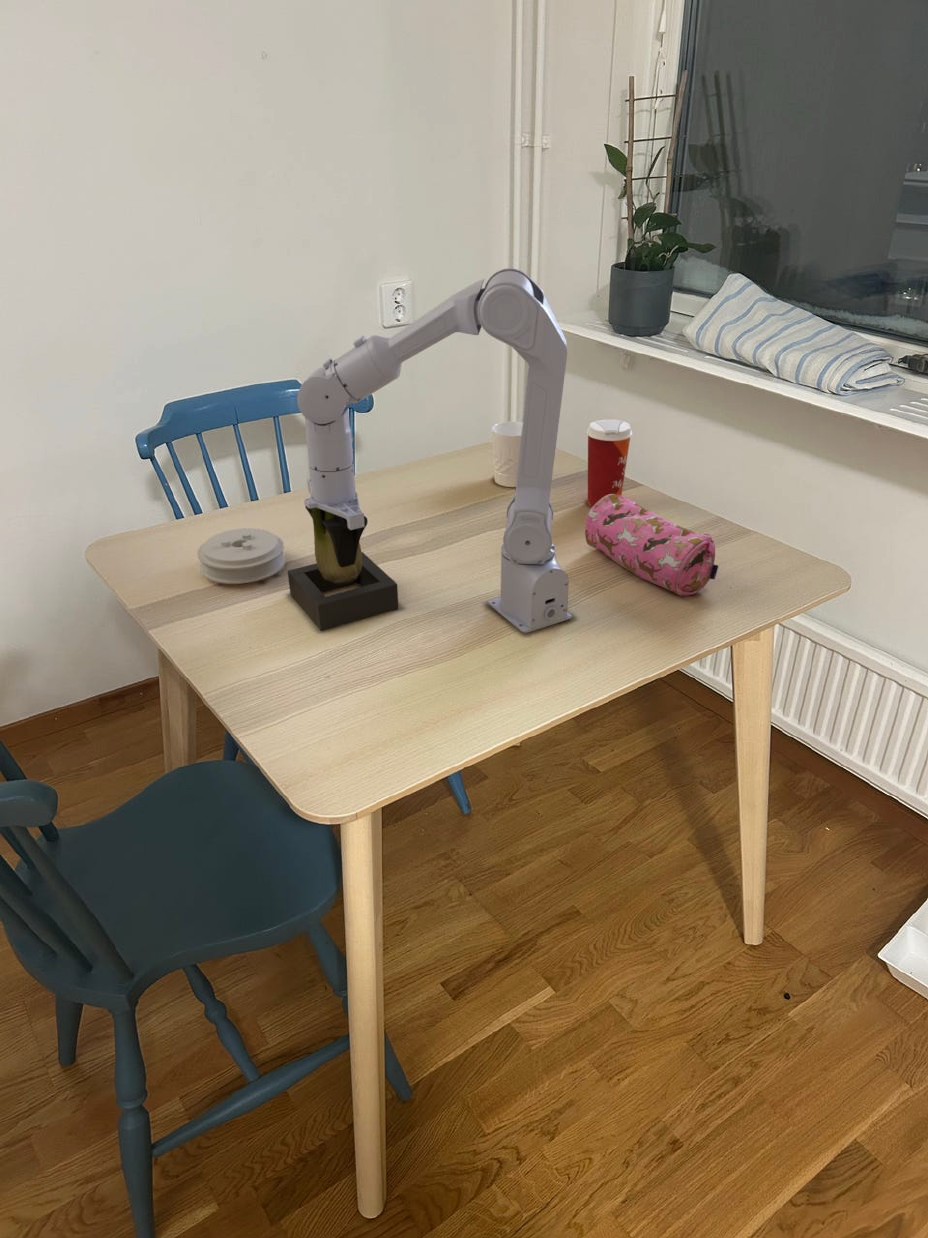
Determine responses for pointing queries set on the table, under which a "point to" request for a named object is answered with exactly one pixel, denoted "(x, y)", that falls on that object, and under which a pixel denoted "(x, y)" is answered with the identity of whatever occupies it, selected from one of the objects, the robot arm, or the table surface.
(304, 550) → the table surface
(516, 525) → the robot arm
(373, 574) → the holder
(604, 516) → the pencil case
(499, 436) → the white cup
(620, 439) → the paper cup
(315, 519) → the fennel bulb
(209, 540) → the lid
